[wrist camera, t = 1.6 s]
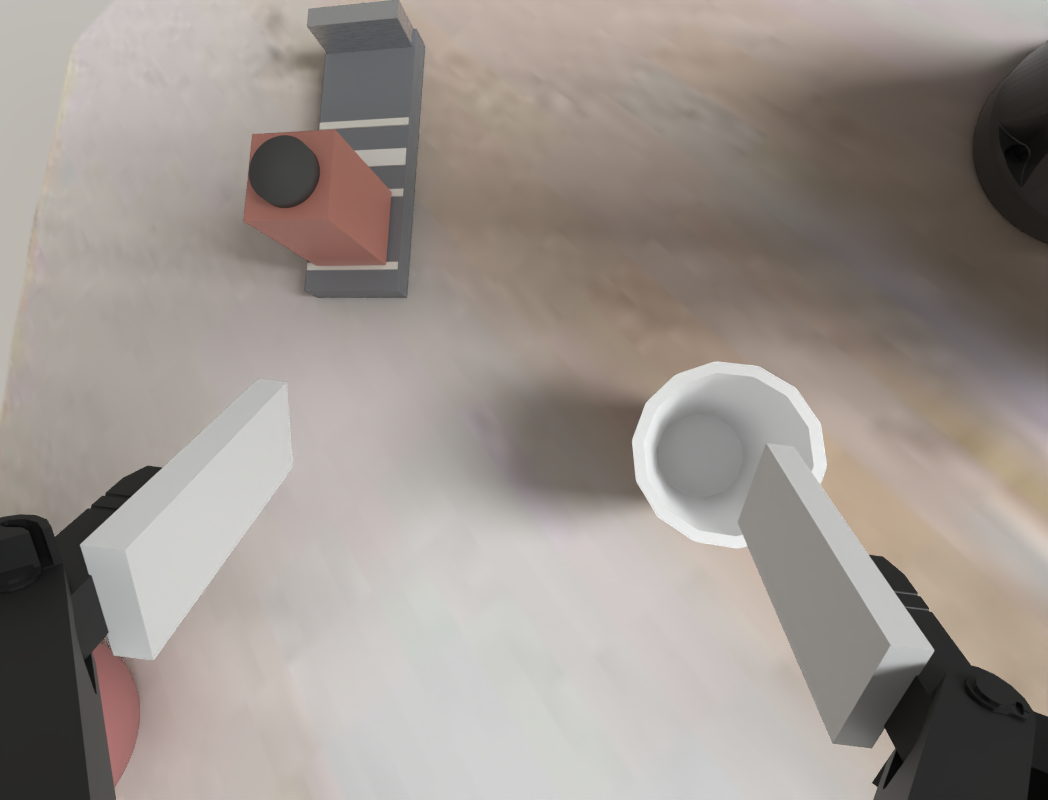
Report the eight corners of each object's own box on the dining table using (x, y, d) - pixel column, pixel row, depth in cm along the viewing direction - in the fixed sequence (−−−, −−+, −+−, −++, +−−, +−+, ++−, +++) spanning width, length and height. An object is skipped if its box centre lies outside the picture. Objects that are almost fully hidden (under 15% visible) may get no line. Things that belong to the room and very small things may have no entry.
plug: (386, 265, 46) (318, 212, 36) (316, 265, 47) (233, 214, 37) (391, 192, 46) (327, 120, 37) (322, 194, 48) (242, 125, 38)
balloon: (-10, 808, 50) (-286, 957, 35) (63, 581, 51) (-175, 633, 36) (134, 886, 47) (-102, 1087, 32) (209, 643, 48) (15, 727, 33)
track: (406, 297, 48) (379, 278, 43) (317, 297, 49) (281, 278, 44) (425, 46, 50) (401, -2, 45) (338, 53, 51) (306, 8, 46)
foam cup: (656, 536, 42) (665, 569, 29) (615, 415, 44) (607, 396, 31) (787, 498, 41) (856, 515, 28) (740, 374, 42) (786, 337, 30)
